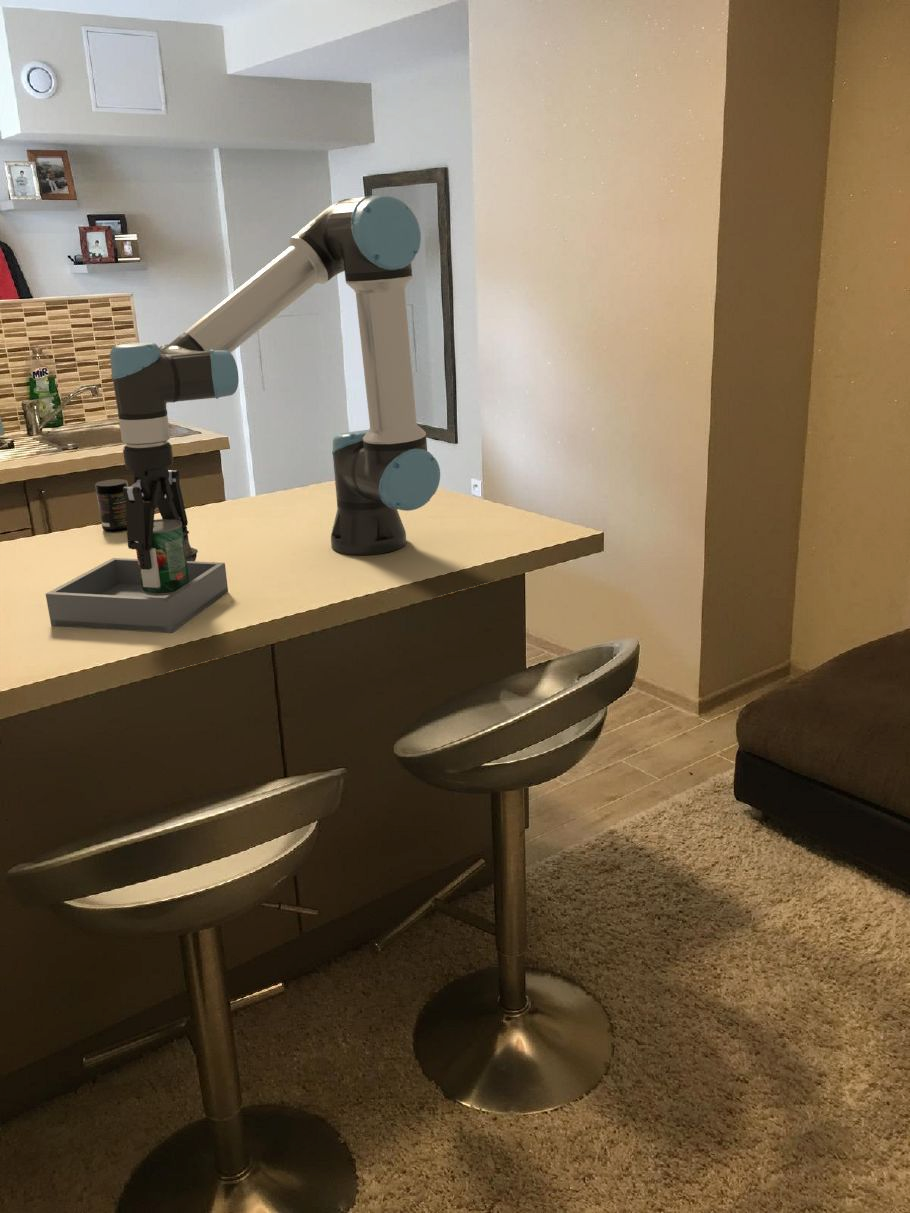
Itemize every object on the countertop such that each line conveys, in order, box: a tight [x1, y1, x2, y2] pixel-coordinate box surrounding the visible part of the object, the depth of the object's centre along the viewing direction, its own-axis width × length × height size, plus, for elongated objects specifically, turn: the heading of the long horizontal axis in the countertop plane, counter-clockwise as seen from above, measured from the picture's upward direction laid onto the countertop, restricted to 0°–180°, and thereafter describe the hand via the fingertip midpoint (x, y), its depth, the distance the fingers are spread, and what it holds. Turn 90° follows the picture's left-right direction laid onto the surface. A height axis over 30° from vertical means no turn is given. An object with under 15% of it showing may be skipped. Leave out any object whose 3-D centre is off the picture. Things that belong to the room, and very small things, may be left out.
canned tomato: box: [135, 518, 189, 596], centre depth 168 cm, size 8×8×11 cm
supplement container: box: [94, 478, 129, 533], centre depth 222 cm, size 7×7×10 cm
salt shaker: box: [179, 517, 199, 561], centre depth 190 cm, size 6×6×12 cm
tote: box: [45, 557, 229, 634], centre depth 172 cm, size 22×20×6 cm
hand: (165, 578), depth 169 cm, fingers closed on canned tomato, 8 cm apart
